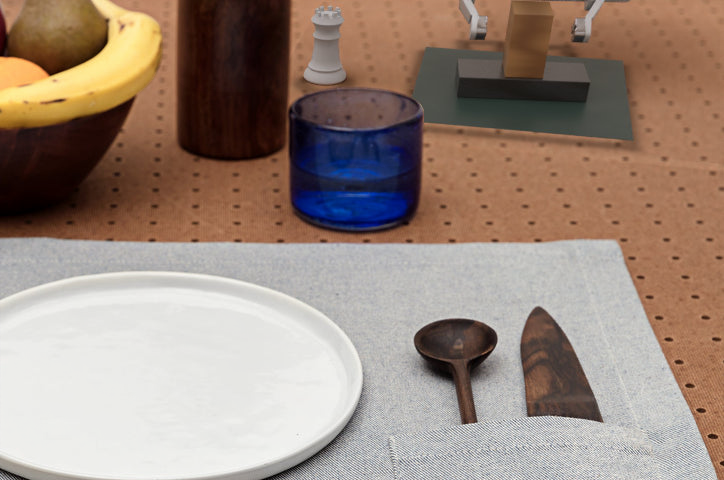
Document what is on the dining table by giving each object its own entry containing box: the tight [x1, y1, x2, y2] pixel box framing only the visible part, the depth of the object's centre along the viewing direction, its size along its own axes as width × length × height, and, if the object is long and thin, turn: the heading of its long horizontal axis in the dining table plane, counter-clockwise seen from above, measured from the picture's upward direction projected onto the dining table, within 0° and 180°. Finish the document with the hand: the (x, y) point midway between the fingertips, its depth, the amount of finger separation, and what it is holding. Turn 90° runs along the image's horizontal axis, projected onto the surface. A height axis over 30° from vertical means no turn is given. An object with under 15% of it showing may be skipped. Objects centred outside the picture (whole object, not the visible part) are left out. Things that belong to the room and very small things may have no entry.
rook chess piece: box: [302, 5, 347, 86], centre depth 106 cm, size 4×4×8 cm
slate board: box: [411, 46, 634, 142], centre depth 105 cm, size 20×20×1 cm
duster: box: [455, 0, 590, 102], centre depth 102 cm, size 12×5×8 cm, turn 81°
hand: (529, 38), depth 101 cm, fingers open, 8 cm apart
